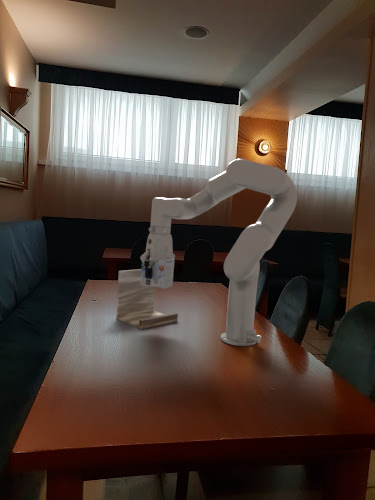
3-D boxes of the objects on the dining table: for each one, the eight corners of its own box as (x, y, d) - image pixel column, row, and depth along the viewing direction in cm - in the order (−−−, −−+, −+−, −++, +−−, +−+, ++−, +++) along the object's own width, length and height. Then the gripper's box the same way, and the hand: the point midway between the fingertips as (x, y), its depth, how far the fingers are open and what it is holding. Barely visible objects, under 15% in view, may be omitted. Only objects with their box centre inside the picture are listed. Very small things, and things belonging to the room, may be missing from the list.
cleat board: (177, 321, 153) (180, 274, 151) (141, 328, 140) (144, 277, 139) (151, 312, 164) (154, 268, 162) (116, 318, 152) (118, 270, 150)
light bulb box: (139, 284, 144) (141, 255, 143) (149, 282, 150) (151, 254, 149) (164, 288, 140) (166, 259, 139) (173, 286, 146) (175, 258, 145)
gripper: (149, 231, 134) (145, 281, 136) (183, 232, 147) (180, 277, 148) (135, 229, 139) (132, 277, 141) (170, 230, 152) (166, 274, 154)
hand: (156, 277), depth 145 cm, fingers closed on light bulb box, 8 cm apart
